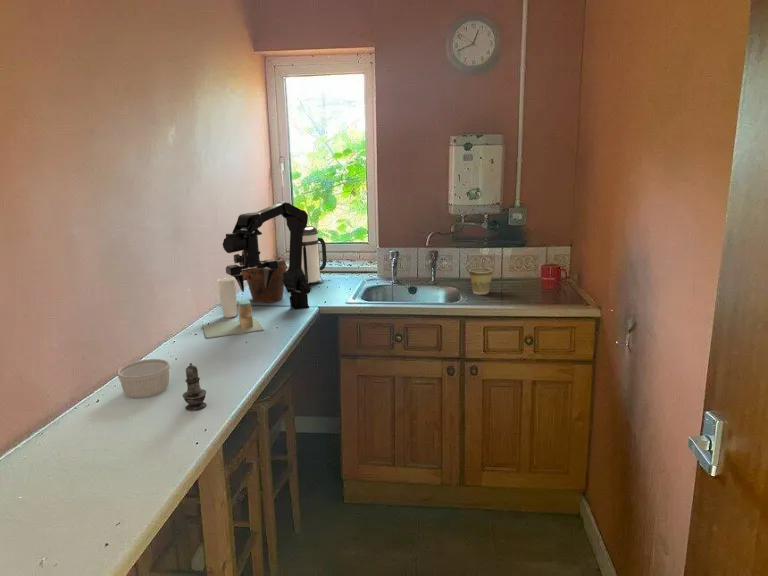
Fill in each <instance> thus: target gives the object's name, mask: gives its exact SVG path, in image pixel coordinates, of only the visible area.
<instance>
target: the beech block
mask: <svg viewBox="0 0 768 576" xmlns="http://www.w3.org/2000/svg"><path fill="white" fill-rule="evenodd" d="M237 311H238V318H239V320H240V325H241V327H242V328H249V327H253V320H252V319H253V311H252V303H251V301H250V299H241V300H237ZM239 320H238V321H239Z"/></svg>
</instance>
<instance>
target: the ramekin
mask: <svg viewBox="0 0 768 576" xmlns="http://www.w3.org/2000/svg"><path fill="white" fill-rule="evenodd" d="M170 369H171V366H170V363H169V361H167V360H166V359H161V358H148V359H147V358H146V359H140V360H136V361H133V362H129V363H128V364H125V365H123V366H121V367H120V368H119V369H118V370H117V378H118V379H119V381H120V385H121V387H122V391H123V393H124V395H126V396H127V397H129V398H131V399H146V398H153V397H155V396H158V395H160V394H162V393H164V392H165V391H167V388H168V387H169V384H170Z"/></svg>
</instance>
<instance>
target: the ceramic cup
mask: <svg viewBox="0 0 768 576" xmlns="http://www.w3.org/2000/svg"><path fill="white" fill-rule="evenodd" d="M468 274H469V279H470V282H471V288H472V293H473V294H475V295H478V296H479V295H487V294H489V291H490V287H491V281H492V277H493V274H494V270H493V268H491V267H472V268H470V269H468Z"/></svg>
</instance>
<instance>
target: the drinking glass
mask: <svg viewBox="0 0 768 576" xmlns="http://www.w3.org/2000/svg"><path fill="white" fill-rule="evenodd" d="M216 281H217V289H218V294H219V300H220V305H221V310H222V316H223V318H227V319H228V318H230V319H231V318H235V317H236V316H237V315H238V302H237V283H236V282H237V281H236V279H235V277H233V276H229V277H228V276H227V277H222V278H218V279H217V280H216Z"/></svg>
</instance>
